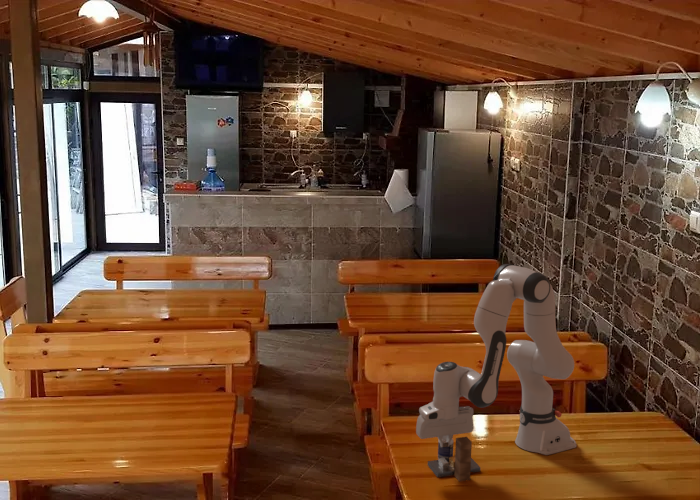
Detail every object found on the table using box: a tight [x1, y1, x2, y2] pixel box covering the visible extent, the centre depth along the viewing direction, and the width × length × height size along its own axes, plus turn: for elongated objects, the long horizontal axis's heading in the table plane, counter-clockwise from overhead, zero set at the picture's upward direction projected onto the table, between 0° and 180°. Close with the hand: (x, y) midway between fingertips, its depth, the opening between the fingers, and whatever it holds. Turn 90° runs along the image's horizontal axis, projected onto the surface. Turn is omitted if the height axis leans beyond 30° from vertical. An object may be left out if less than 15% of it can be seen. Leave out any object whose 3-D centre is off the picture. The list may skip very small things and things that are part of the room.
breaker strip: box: [427, 455, 482, 478], centre depth 265 cm, size 16×9×4 cm, turn 106°
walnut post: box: [453, 436, 473, 482], centre depth 257 cm, size 4×4×14 cm
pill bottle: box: [437, 436, 454, 460], centre depth 271 cm, size 5×5×10 cm
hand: (444, 446), depth 263 cm, fingers closed
